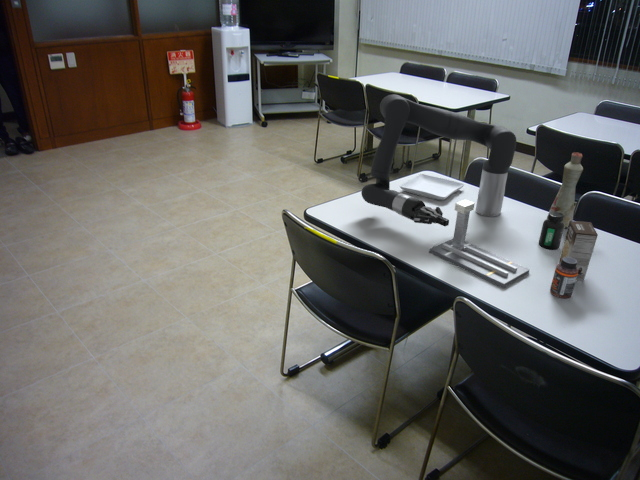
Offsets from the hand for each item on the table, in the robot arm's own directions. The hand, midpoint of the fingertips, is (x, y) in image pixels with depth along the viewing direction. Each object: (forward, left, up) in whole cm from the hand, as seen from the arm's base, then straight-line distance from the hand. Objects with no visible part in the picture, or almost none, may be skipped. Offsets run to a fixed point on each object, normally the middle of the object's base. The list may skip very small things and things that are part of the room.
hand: (447, 223), depth 174 cm
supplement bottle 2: (-4, +39, -9) cm, 41 cm away
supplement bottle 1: (-30, +21, -9) cm, 38 cm away
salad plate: (-38, -37, -10) cm, 54 cm away
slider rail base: (0, +13, -9) cm, 16 cm away
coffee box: (-18, +35, -9) cm, 41 cm away
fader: (0, +5, -7) cm, 9 cm away
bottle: (-50, +14, -9) cm, 53 cm away
